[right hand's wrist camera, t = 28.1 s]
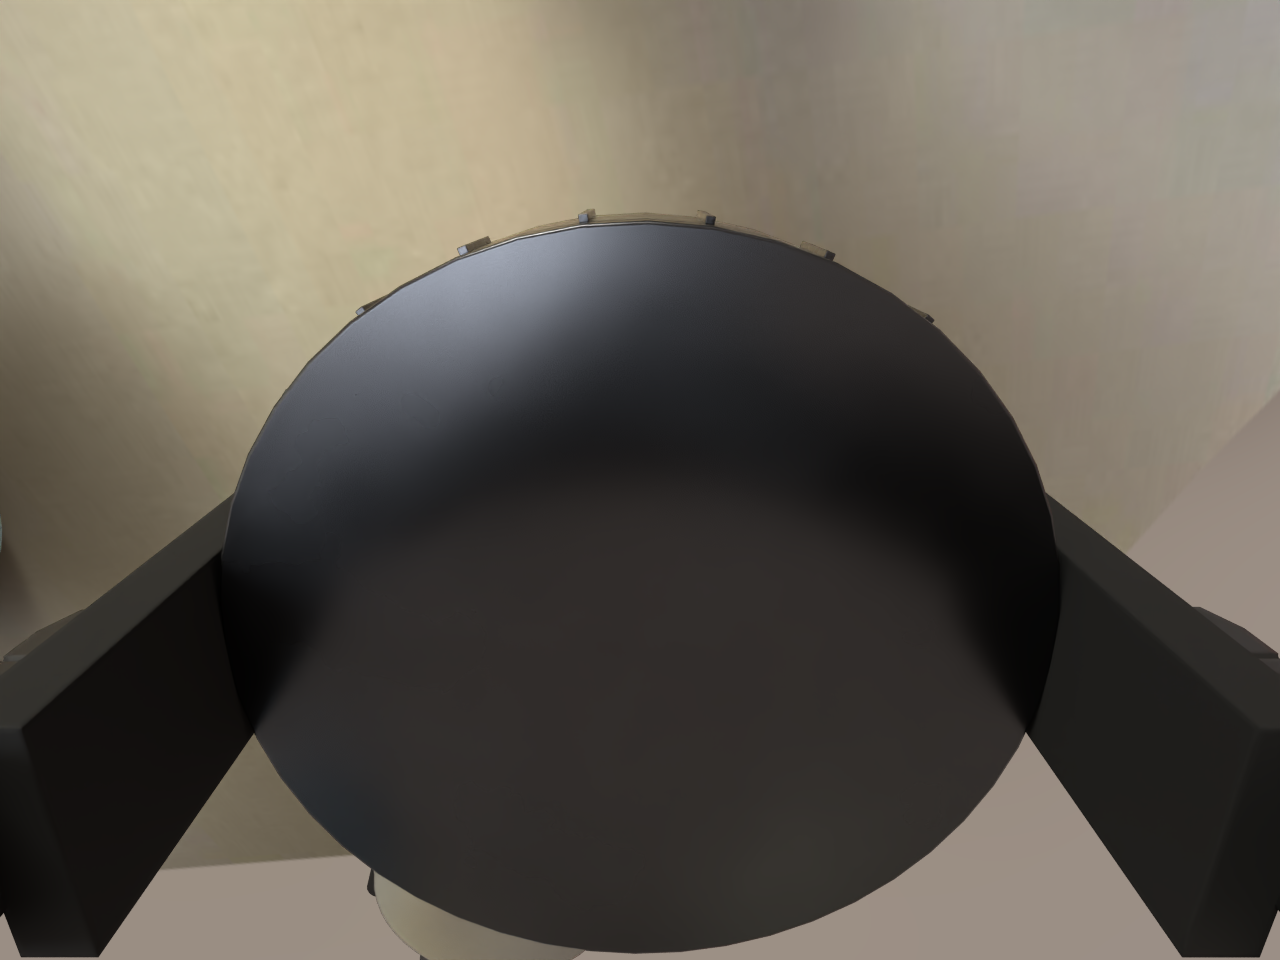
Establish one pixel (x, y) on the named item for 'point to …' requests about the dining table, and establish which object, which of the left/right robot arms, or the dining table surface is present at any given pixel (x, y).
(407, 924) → the jar
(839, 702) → the lid
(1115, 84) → the dining table surface
